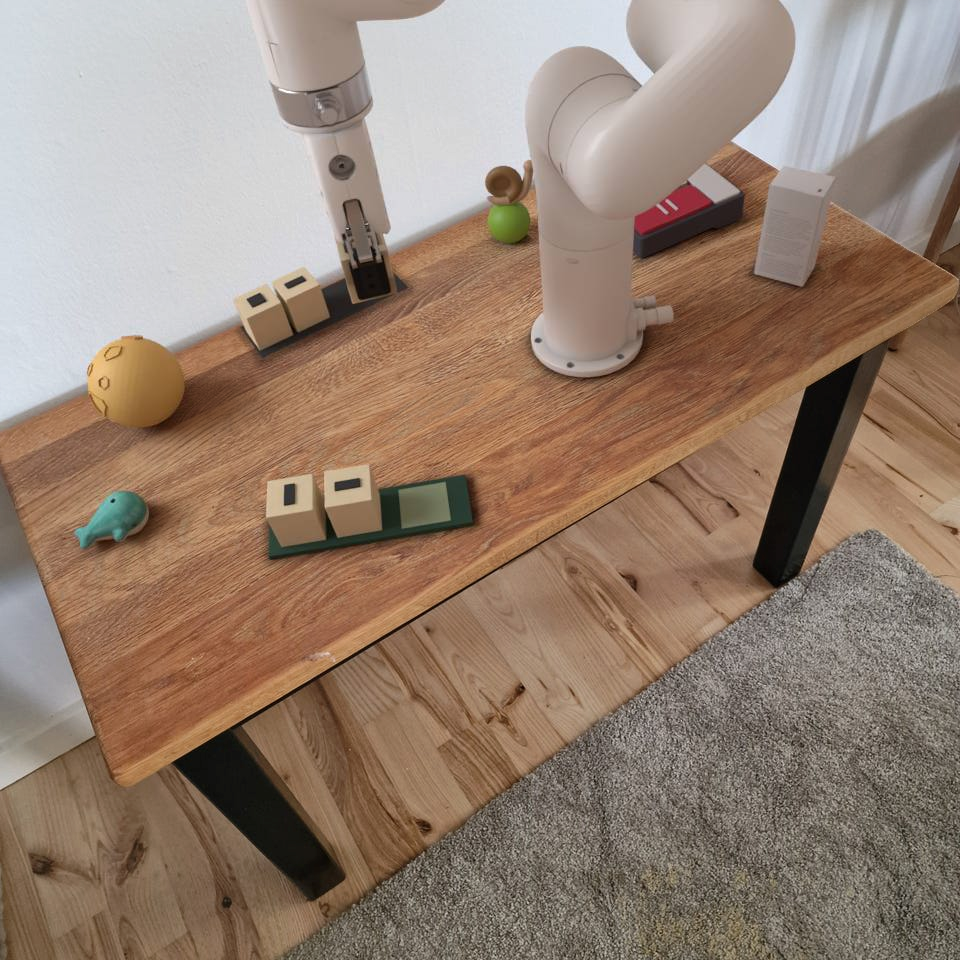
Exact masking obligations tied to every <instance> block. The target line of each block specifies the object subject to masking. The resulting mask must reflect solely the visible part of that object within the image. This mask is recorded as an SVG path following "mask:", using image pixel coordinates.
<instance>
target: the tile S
mask: <svg viewBox="0 0 960 960" xmlns="http://www.w3.org/2000/svg"><path fill="white" fill-rule="evenodd" d="M366 227H369V226H366ZM349 231H351V230H349ZM347 232H348V231H347ZM375 235H376V239H377V243H378V247H379V251H380V255H383V257H384V261H385V265H386V269H387V274H388V278H389V282H390V286H391V292H390V293H389V294H386V295H382V296H377V297H373V298H369V299H365V300H359V299H358V296H357V293H356V289H355V285H354V282H353V278H352V275H351V271H350V267H349V264H348V263H350V262H351V261H350V257H349V254H348V250H347V246H346V243H345V241H344V244H342V243H340V242H338V241H337V239H336V237H335V234H334V233H333V236H334V241H335V244H336V249H337V253H338V257H339V262H340V266H341V269H342V271H343V275H344V278H345V279H346V283H347V286H348V290H349V293H350V297H351V300H352V303H353V304H355V303H359V302H363V301H367V300H371V299H376V298H380V297H384V296H388V295H392V294H394V295H396V294H398V293H397V288H396V284H395V279H394V275H393V273H394V272H393V268H392V263H391V259H390V254H389V249H388V245H387V242H386V239H385V236H384V234H381V235H378V234H377V233H376V234H375ZM368 240H369V244H370V246H372V243H371V239H370V238H368ZM352 246H353V250H356V247H355V243H354V242H352ZM392 296H393V295H392Z"/></svg>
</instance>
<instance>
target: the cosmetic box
mask: <svg viewBox="0 0 960 960" xmlns="http://www.w3.org/2000/svg"><path fill="white" fill-rule="evenodd" d="M836 182H837V176H834V175H829V174H823V173H818V172H813V171H809V170H804V169H800V168H795V167H790V166H787V165H786V166H785V165H783V166H782V167H781V169H780V170H779V171H778V172H777V174H776V175H775V177H774V178H773V179H772V181H771V182H770V184H769V186H768V192H767V199H766V204H765V210H764V216H763V220H762V221H763V222H762V225H761V226H762V227H761V230H760V231H761V232H760V236H759V237H760V238H759V243H758V249H757V253H756V260H755V265H754V270H753V274H754V275H755V276H760V277H763V278H767V279H771V280H774V281H778V282H783V283H786V284H790V285H793V286H797V287H801V288H802V287H804V286H805V284H806V282H807V281H808V279H809V277H810V276H811V274H812V273H813V271H814V269H815V267H816V264H817V259H818V254H819V251H820V247H821V243H822V238H823V235H824V231H825V227H826V226H825V225H826V223H827V218H828V214H829V210H830V206H831V201H832V198H833V193H834V189H835V186H836Z"/></svg>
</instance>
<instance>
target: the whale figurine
mask: <svg viewBox="0 0 960 960" xmlns="http://www.w3.org/2000/svg"><path fill="white" fill-rule="evenodd" d="M149 515H150V512H149V506H148V505H147V503H146V501H144V499H143V498H142V496H140V494H138V493H135V492H133V491H131V490H118V491H115V492H112V493H110V494H109V495H108V496H107V497H106V498H105V499H104V501H102V502H100V503H99V507H98V509H97V510H96V511H95V513H94V514H93V516H92V517H91V519H90V521H89V522H88V524H87V525H85V526H81V527H80V526H79V527H78V528H76V529H75V531H74V536H75V537H76V538H77V539H78V540H79V547H80V549H81V550H83V551H87V550H88V549H90V548H92V547H93V545H94V544H95V543H96V542H98V541H108V540H114V541H115V542H117V543H122V542H124V541H125V540H126V539H127V538H128V537H129V536H134V535H135V534H138V533H139V532H140V531H142V530H143V529H144V527H145V526H146V524H147V522H148V520H149V518H150V517H149Z"/></svg>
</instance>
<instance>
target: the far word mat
mask: <svg viewBox="0 0 960 960" xmlns="http://www.w3.org/2000/svg"><path fill="white" fill-rule="evenodd" d="M393 275H394V279H395V284H396V288H397V293H396V294H398V293H401V292H402V291H404V290H406V289H408V288H409V287H408V286H407V285H406V284H405V283H404V282H403V281H402V280H401V279H400V278H399V276H397V275H396V273H394V272H393ZM271 285H272V287H273V290H274V291H273V290H272V289H271V287H270V286H269V285H268V284H267V283H265V284H263V285H261V286H259V287H257V288H254V289H252V290H250V291H247V292H245V293H243V294H240V295H239V296H237V297H234V298H232V301H233V303H234V306H235V308H236V311H237V313H238V316H239V318H240V320H241V323H242V326H240V329H241V330H242V332H243V333H244V335H245V336H246V338H247V340H249V342H250V343H251V345H252V346H253V347H254V349H255V350H256V352H257V353H258V355H259V356H260V357H261V358H262V359H264V358H265V357H268V356H270V355H272V354H274V353H277V352H278V351H281V350H283V349H285V348H286V347H289V346H291V345H292V344H293V345H294V343H297V342H299V341H301V340H303V339H305V338H308V337H309V336H311V335H313V334H315V333H318V332H320V331H322V330H324V329H326V328H328V327H331V326H332V325H334V324H336V323H338V322H340V321H343V320H346V319H347V318H349V317H351V316H352V315H355V314H357V313H359V312H361V311H363V310H365V309H367V308H369V307H371V306H374V305H375V304H378V303H380V302H382V301H384V300H386V299H389V298H390V297H393V296H394V295H395V294H392V295H388V296H384V297H380V298H376V299H371V300H367V301H363V302H359V303H355V304H353V303H352V300H351V297H350V293H349V290H348V286H347V283H346V279H345V277H344V278H342V279H340V280H338V281H336V282H333V283H332V284H329V285H328V286H325V287H323V288H321V284H320V283H319V282H318V281H317V279H316V278H314V276H313V275H312V274H311V273H310V272H309V270H308V269H307V268H306V267H305V266H302V267H300V268H298V269H295V270H293V271H292V272H289V273H287V274H285V275H283V276H280V277H278V278H276V279H274V280H272V281H271Z"/></svg>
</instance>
